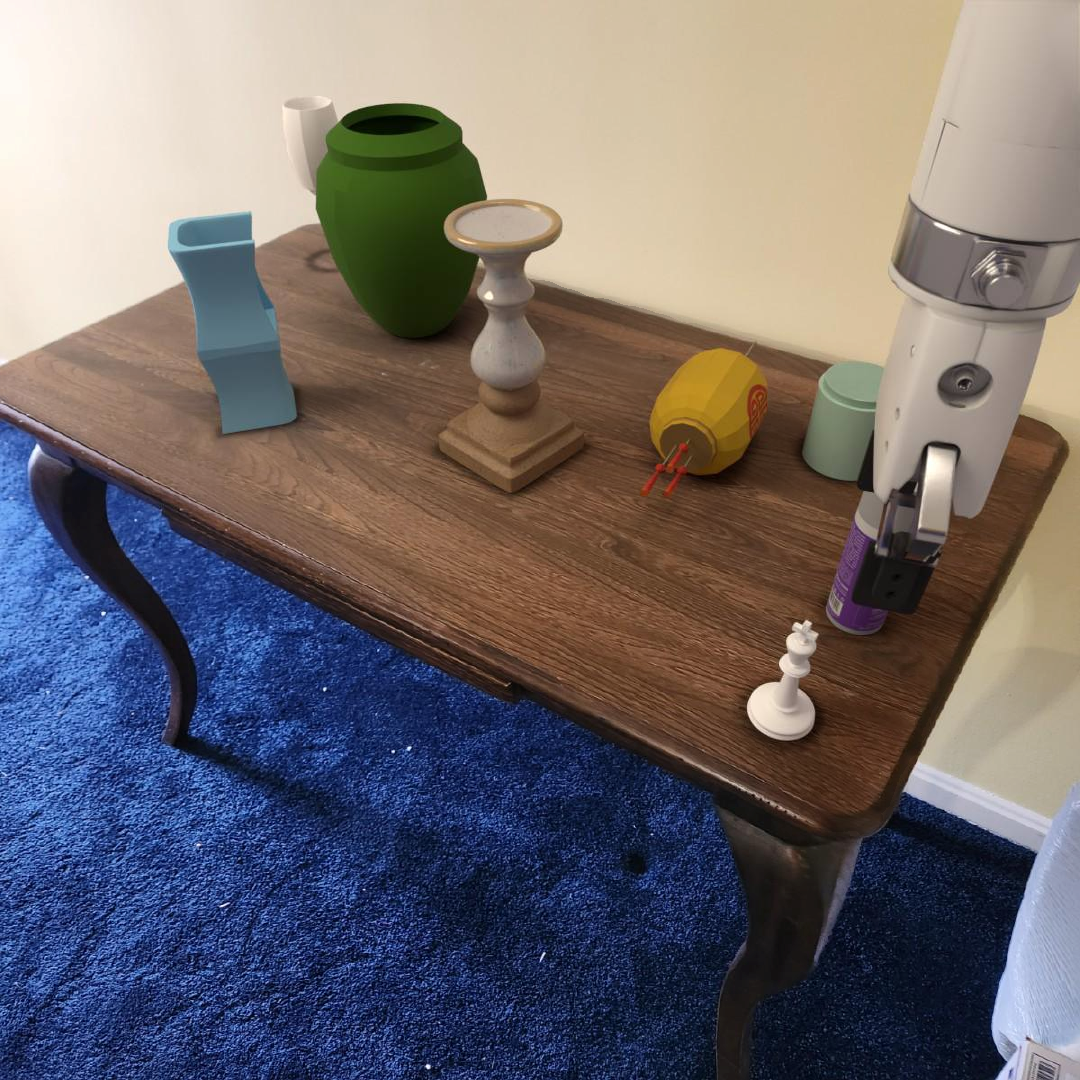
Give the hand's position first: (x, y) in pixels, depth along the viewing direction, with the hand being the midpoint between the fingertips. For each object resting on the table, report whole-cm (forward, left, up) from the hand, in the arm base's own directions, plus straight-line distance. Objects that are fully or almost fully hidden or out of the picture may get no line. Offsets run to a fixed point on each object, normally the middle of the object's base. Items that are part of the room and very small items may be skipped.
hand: (882, 544), depth 48 cm
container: (-10, -11, -21) cm, 26 cm away
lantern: (-8, -36, -21) cm, 42 cm away
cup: (+24, -93, -21) cm, 98 cm away
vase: (+16, -71, -21) cm, 75 cm away
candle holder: (+11, -42, -20) cm, 48 cm away
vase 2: (+36, -57, -21) cm, 70 cm away
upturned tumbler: (-21, -31, -20) cm, 42 cm away
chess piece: (0, -4, -21) cm, 21 cm away
